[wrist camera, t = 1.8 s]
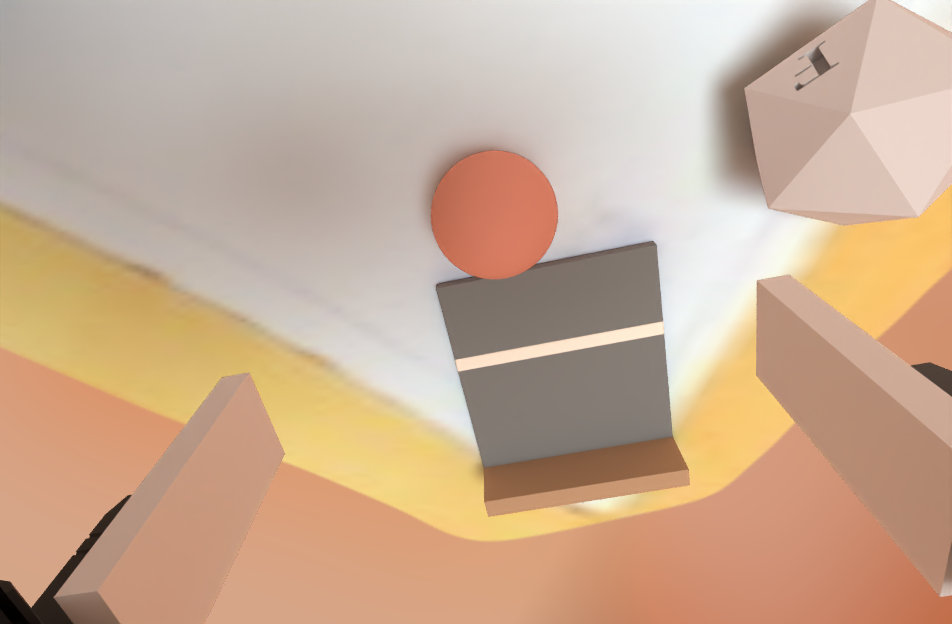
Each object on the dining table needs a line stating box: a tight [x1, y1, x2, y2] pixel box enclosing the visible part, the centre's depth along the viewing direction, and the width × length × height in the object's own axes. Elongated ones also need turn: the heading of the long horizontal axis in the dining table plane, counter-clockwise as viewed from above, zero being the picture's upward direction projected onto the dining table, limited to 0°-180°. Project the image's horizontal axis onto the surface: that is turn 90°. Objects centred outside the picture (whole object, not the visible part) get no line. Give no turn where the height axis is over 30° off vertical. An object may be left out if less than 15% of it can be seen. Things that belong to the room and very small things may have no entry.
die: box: [744, 0, 952, 226], centre depth 24 cm, size 8×9×10 cm
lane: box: [436, 241, 690, 517], centre depth 32 cm, size 14×12×4 cm
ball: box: [431, 151, 558, 279], centre depth 27 cm, size 6×6×6 cm
